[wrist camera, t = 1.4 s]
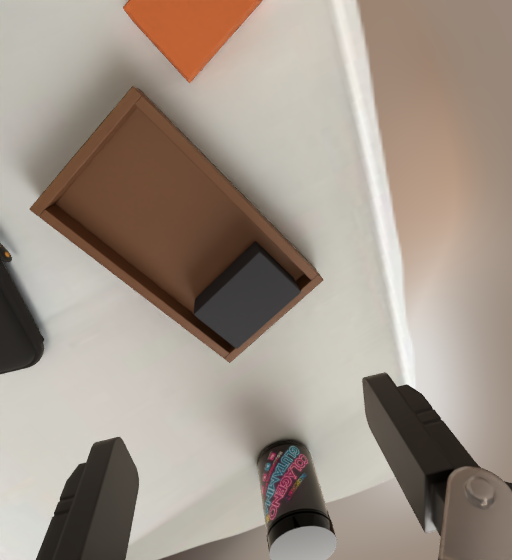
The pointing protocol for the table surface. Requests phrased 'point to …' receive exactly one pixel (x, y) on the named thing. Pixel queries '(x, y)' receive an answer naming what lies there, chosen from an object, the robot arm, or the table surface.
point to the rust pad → (189, 28)
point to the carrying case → (16, 325)
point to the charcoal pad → (246, 296)
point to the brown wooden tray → (162, 216)
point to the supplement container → (294, 505)
